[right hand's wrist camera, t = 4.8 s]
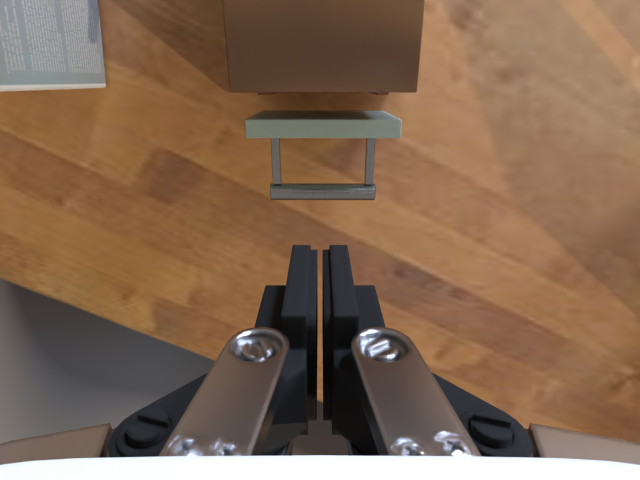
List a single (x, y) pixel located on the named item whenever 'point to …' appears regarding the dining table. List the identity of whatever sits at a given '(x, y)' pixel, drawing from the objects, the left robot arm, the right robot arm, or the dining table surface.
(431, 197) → the dining table surface
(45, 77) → the hard drive box
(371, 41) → the cabinet
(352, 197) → the drawer
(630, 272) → the dining table surface
